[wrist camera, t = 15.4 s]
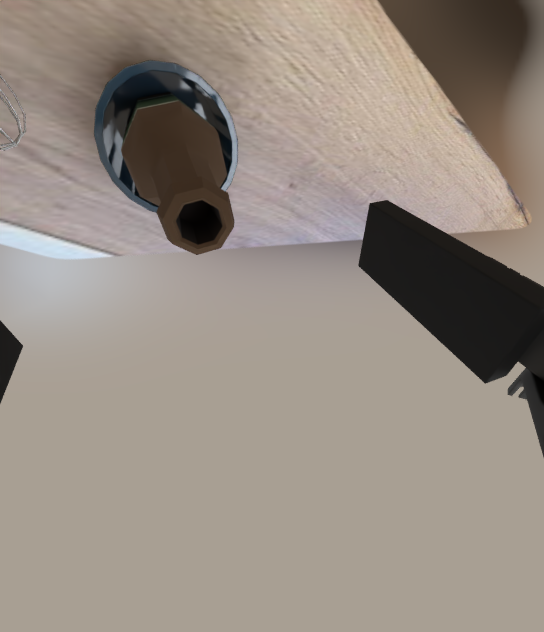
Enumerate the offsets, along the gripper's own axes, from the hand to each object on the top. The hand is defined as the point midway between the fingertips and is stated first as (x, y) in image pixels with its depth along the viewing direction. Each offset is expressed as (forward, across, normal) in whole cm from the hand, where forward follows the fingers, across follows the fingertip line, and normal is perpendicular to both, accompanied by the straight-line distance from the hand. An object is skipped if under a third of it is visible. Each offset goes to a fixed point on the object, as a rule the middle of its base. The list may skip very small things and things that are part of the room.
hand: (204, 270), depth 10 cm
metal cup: (+29, +1, 0) cm, 29 cm away
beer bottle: (+29, +1, 0) cm, 29 cm away
